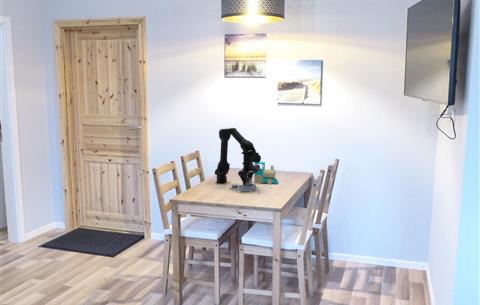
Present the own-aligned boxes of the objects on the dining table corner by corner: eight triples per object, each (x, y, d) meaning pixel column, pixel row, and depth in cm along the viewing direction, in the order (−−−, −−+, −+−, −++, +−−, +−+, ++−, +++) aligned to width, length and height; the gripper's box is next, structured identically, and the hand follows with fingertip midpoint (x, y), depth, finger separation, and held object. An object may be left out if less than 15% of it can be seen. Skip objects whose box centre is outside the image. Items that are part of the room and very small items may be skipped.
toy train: (276, 184, 333) (277, 164, 331) (254, 183, 337) (254, 163, 335) (278, 182, 341) (278, 162, 339) (256, 181, 345) (256, 161, 343)
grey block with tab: (242, 187, 317) (242, 178, 316) (245, 186, 321) (245, 177, 320) (249, 188, 315) (249, 178, 314) (251, 187, 319) (251, 177, 318)
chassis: (230, 189, 317) (230, 184, 317) (236, 186, 327) (236, 181, 327) (250, 191, 311) (250, 187, 311) (256, 188, 321) (256, 183, 321)
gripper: (253, 164, 304) (253, 187, 306) (263, 159, 321) (263, 182, 323) (237, 162, 308) (237, 185, 310) (248, 158, 325) (248, 180, 327)
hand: (247, 183), depth 318 cm, fingers open, 9 cm apart
